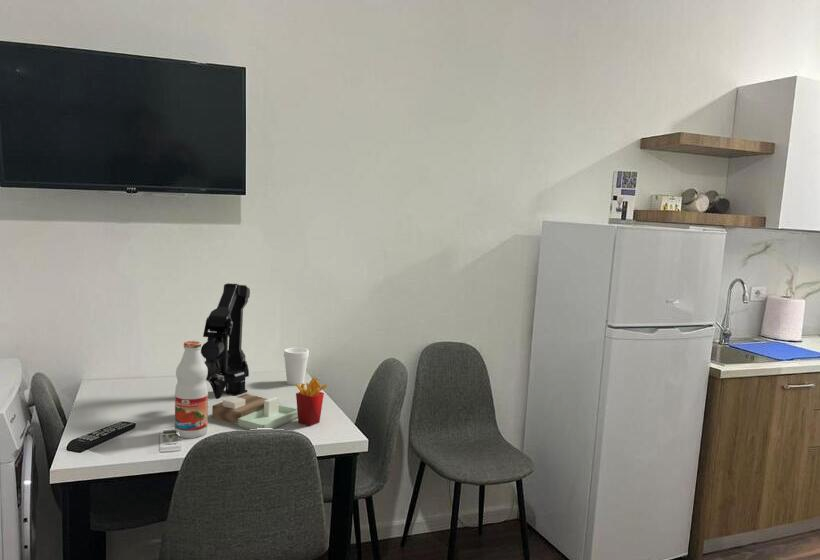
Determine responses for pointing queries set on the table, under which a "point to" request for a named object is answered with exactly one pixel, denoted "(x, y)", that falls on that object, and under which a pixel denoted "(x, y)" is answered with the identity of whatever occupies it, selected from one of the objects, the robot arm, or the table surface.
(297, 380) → the foam cup
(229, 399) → the tile
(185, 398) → the fruit juice
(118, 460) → the table surface
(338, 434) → the table surface
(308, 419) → the french fries
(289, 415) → the tray
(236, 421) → the board
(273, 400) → the tile
